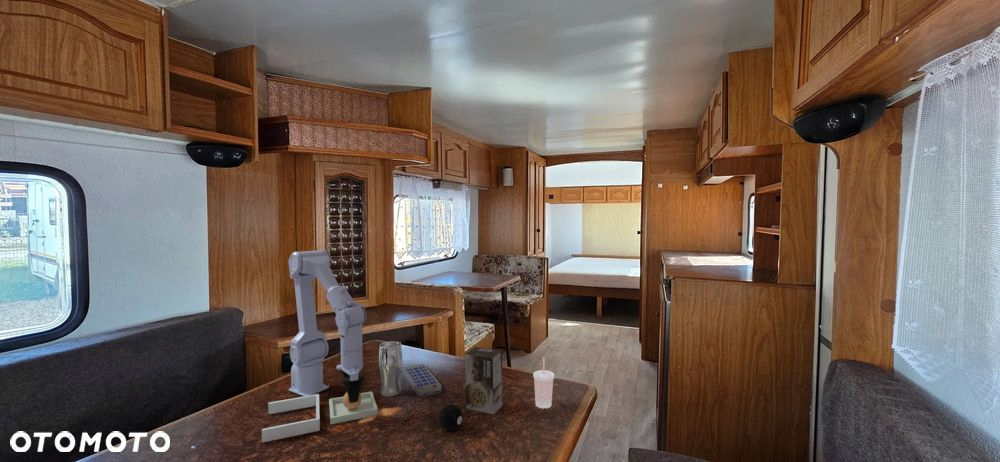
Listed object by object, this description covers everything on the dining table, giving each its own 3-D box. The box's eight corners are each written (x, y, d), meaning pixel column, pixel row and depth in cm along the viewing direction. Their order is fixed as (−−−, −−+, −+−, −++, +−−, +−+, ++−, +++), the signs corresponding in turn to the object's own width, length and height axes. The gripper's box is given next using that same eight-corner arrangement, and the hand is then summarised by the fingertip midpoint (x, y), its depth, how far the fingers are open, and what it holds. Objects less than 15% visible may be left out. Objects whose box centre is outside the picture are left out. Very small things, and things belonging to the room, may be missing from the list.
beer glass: (396, 398, 120) (395, 349, 120) (375, 396, 122) (374, 347, 121) (406, 388, 127) (405, 341, 127) (386, 386, 129) (385, 340, 128)
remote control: (424, 368, 145) (424, 362, 145) (443, 393, 125) (443, 386, 124) (402, 372, 141) (401, 366, 141) (418, 398, 121) (418, 391, 121)
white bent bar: (262, 442, 97) (261, 430, 97) (268, 413, 112) (268, 402, 112) (319, 430, 103) (319, 419, 103) (319, 403, 117) (319, 393, 117)
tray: (330, 424, 106) (330, 418, 106) (329, 404, 116) (329, 399, 116) (377, 414, 111) (377, 408, 111) (372, 396, 121) (372, 391, 121)
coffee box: (503, 405, 116) (503, 350, 115) (493, 415, 110) (493, 357, 109) (475, 399, 120) (475, 345, 119) (464, 408, 114) (464, 352, 113)
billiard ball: (452, 437, 99) (452, 414, 99) (434, 430, 103) (434, 407, 102) (467, 426, 104) (467, 404, 104) (449, 420, 108) (449, 398, 107)
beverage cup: (558, 404, 116) (558, 356, 116) (545, 412, 112) (546, 362, 111) (541, 397, 121) (541, 351, 120) (528, 404, 116) (528, 357, 115)
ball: (339, 409, 113) (338, 392, 112) (353, 402, 117) (353, 385, 117) (351, 413, 110) (350, 395, 110) (365, 406, 114) (365, 389, 114)
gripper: (335, 343, 118) (336, 388, 118) (337, 359, 104) (338, 410, 105) (360, 339, 121) (361, 384, 121) (366, 355, 107) (366, 405, 108)
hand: (352, 396), depth 113 cm, fingers open, 7 cm apart
